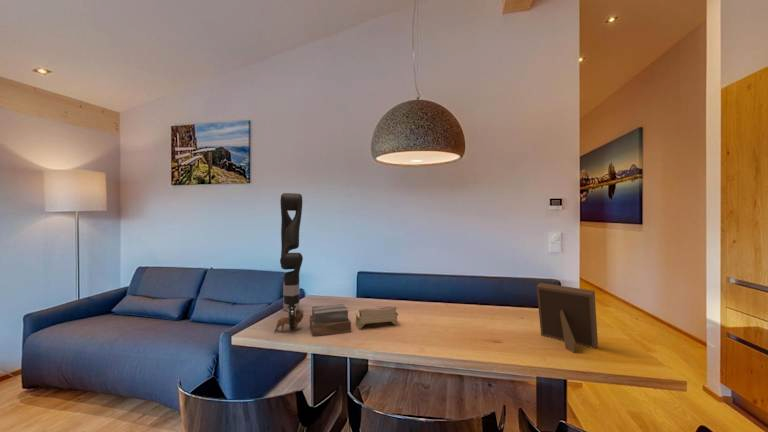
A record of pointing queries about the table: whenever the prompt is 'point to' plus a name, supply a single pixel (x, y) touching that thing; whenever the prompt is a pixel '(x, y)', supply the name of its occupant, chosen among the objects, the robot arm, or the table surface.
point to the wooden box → (329, 320)
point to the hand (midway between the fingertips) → (291, 327)
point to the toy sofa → (376, 316)
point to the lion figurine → (285, 320)
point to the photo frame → (568, 315)
